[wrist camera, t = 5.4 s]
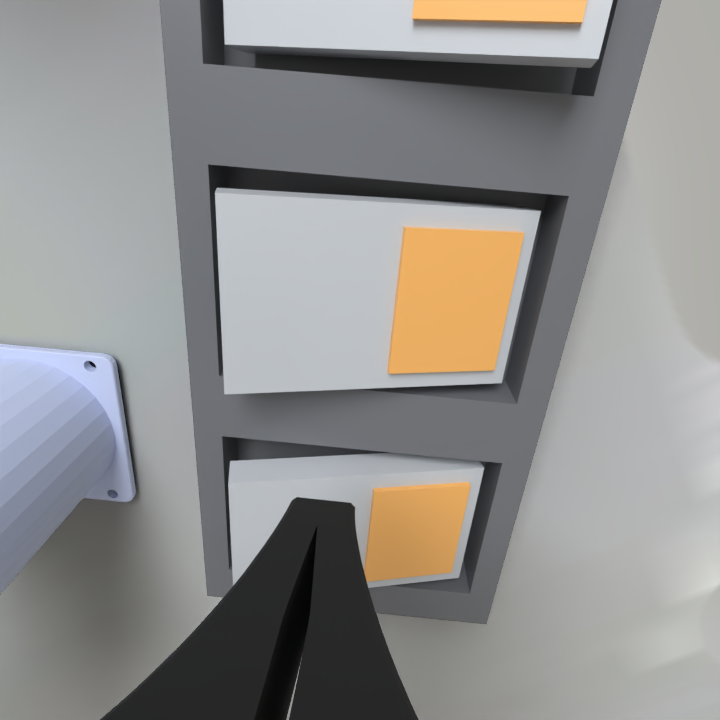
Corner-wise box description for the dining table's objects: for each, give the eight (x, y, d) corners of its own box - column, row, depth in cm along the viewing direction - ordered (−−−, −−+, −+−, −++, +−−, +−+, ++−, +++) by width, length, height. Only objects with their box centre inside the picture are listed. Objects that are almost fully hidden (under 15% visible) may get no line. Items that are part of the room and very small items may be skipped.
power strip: (237, 520, 24) (207, 595, 20) (206, -273, 13) (122, -467, 9) (469, 543, 24) (486, 624, 20) (653, -240, 13) (780, -423, 9)
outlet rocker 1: (225, 375, 15) (224, 398, 14) (216, 187, 13) (214, 193, 11) (485, 367, 17) (504, 385, 16) (519, 205, 15) (544, 211, 13)
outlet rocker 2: (235, 576, 19) (233, 607, 18) (230, 461, 16) (228, 487, 15) (448, 555, 21) (460, 581, 19) (471, 448, 18) (486, 471, 17)
